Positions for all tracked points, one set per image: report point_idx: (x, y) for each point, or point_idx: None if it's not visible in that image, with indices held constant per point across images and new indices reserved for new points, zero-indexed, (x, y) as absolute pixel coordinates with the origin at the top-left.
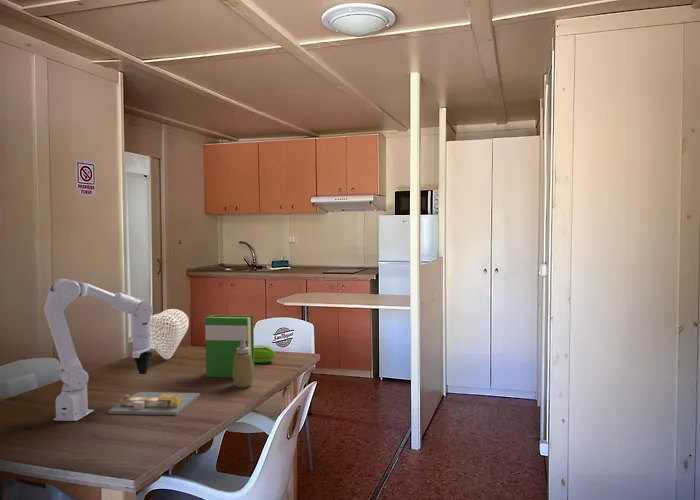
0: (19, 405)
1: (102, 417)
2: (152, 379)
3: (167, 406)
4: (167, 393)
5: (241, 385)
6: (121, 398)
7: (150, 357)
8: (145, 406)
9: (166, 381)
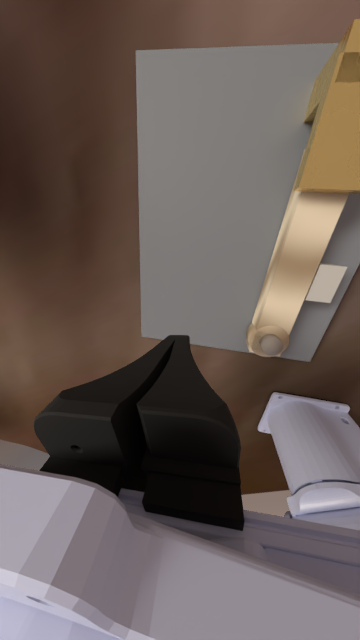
0: None
1: (334, 361)
2: (22, 338)
3: None
4: (150, 237)
5: None
6: (266, 355)
7: (100, 378)
8: None
9: (22, 298)
